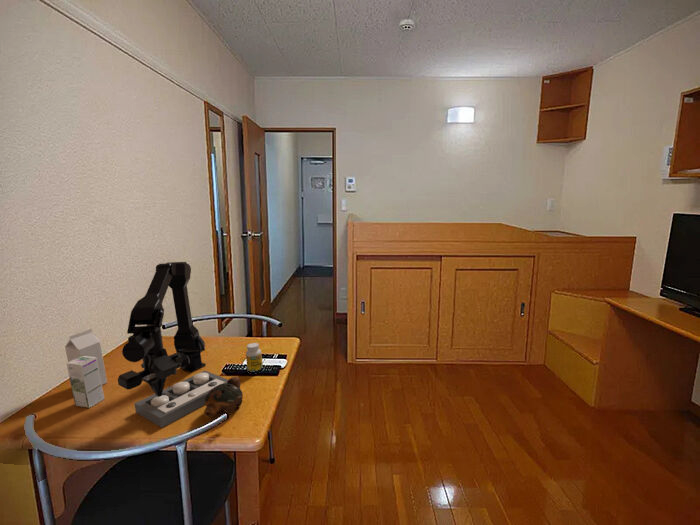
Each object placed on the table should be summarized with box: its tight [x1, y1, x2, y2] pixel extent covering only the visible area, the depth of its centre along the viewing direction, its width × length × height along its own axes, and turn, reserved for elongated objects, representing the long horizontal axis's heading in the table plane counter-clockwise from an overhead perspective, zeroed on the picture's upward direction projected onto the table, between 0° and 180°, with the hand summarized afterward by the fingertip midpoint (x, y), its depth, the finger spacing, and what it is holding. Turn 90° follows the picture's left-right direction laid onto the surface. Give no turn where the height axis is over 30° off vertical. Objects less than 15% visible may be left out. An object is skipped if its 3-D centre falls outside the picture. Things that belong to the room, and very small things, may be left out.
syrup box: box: [66, 356, 105, 409], centre depth 123 cm, size 6×6×14 cm
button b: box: [172, 381, 190, 395], centre depth 124 cm, size 5×5×2 cm
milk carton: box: [64, 328, 108, 386], centre depth 133 cm, size 7×7×19 cm
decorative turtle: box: [203, 376, 243, 418], centre depth 117 cm, size 10×15×8 cm, turn 167°
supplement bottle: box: [245, 342, 264, 372], centre depth 141 cm, size 5×5×10 cm
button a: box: [151, 395, 169, 408], centre depth 119 cm, size 5×5×2 cm
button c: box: [192, 372, 209, 386], centre depth 130 cm, size 5×5×2 cm
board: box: [134, 370, 229, 428], centre depth 123 cm, size 14×24×4 cm, turn 145°
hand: (159, 396), depth 118 cm, fingers closed
